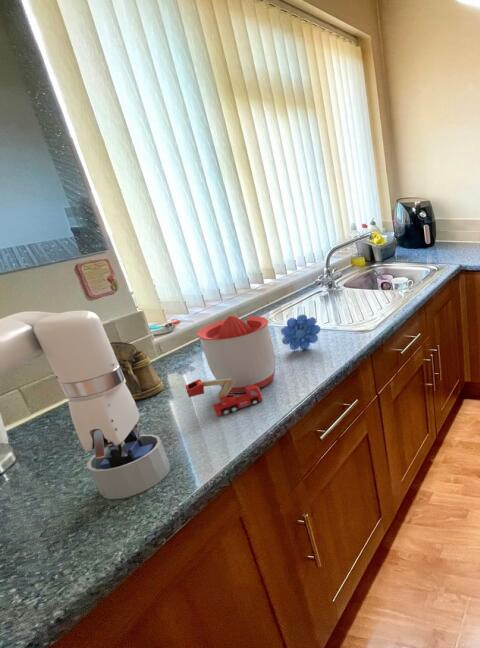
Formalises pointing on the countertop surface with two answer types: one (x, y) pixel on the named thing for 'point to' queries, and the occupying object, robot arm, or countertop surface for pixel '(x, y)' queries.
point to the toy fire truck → (226, 395)
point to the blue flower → (300, 332)
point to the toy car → (131, 448)
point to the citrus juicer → (239, 351)
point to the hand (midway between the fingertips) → (131, 465)
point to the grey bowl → (131, 472)
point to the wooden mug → (137, 371)
